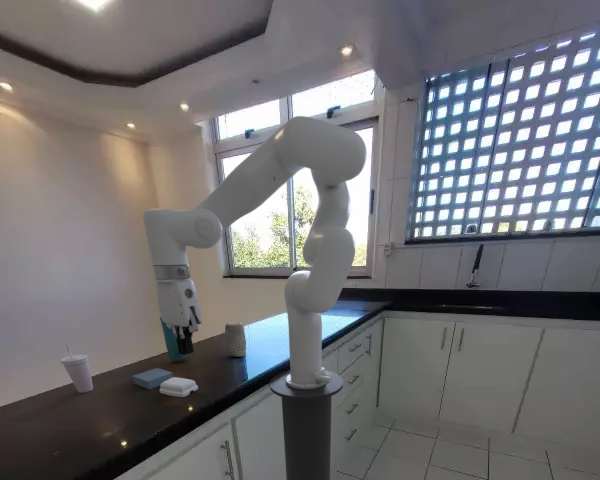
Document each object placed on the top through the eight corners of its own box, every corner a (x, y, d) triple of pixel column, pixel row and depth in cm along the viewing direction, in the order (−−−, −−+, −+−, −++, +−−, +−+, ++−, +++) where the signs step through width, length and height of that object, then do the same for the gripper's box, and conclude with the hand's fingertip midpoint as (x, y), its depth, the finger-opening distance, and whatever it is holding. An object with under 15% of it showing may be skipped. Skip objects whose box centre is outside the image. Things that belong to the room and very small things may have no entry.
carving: (251, 354, 115) (247, 321, 109) (237, 360, 109) (233, 326, 104) (238, 352, 118) (234, 320, 112) (224, 357, 112) (219, 324, 107)
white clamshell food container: (157, 393, 85) (155, 383, 84) (175, 383, 91) (173, 374, 90) (183, 397, 82) (181, 387, 81) (200, 388, 88) (198, 378, 86)
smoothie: (66, 394, 86) (47, 345, 80) (84, 385, 92) (67, 338, 86) (87, 395, 85) (69, 345, 79) (103, 385, 91) (88, 339, 85)
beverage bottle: (185, 364, 107) (173, 304, 98) (166, 364, 107) (152, 304, 98) (191, 358, 112) (180, 301, 104) (173, 358, 113) (160, 301, 104)
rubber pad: (174, 380, 94) (172, 372, 92) (149, 389, 88) (147, 381, 87) (158, 375, 98) (156, 367, 97) (134, 383, 92) (132, 376, 91)
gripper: (208, 273, 68) (218, 354, 76) (167, 272, 76) (180, 345, 84) (178, 276, 62) (193, 362, 70) (138, 274, 70) (155, 352, 78)
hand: (186, 353), depth 77 cm, fingers closed
